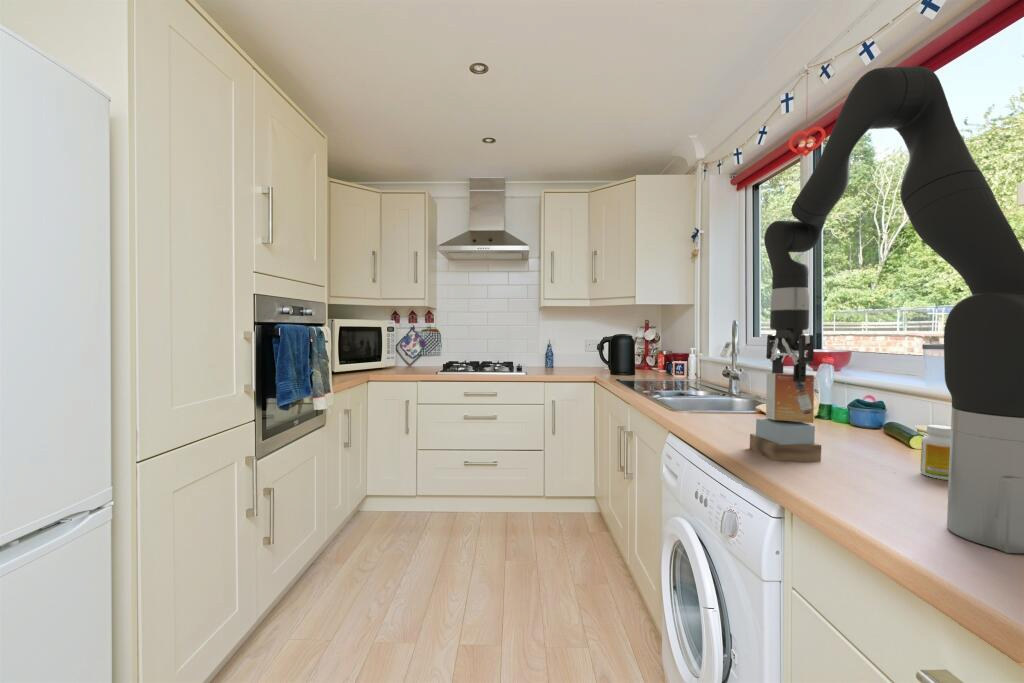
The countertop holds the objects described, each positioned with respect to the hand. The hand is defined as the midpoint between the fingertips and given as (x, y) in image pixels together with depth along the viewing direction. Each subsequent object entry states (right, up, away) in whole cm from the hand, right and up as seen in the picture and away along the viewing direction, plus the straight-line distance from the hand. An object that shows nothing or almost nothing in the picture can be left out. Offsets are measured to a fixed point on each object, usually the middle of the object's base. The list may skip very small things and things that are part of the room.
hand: (787, 380), depth 103 cm
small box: (-1, -9, -2) cm, 9 cm away
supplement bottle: (+20, -18, -15) cm, 31 cm away
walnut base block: (-1, -17, -1) cm, 17 cm away
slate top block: (-2, -13, -2) cm, 14 cm away
